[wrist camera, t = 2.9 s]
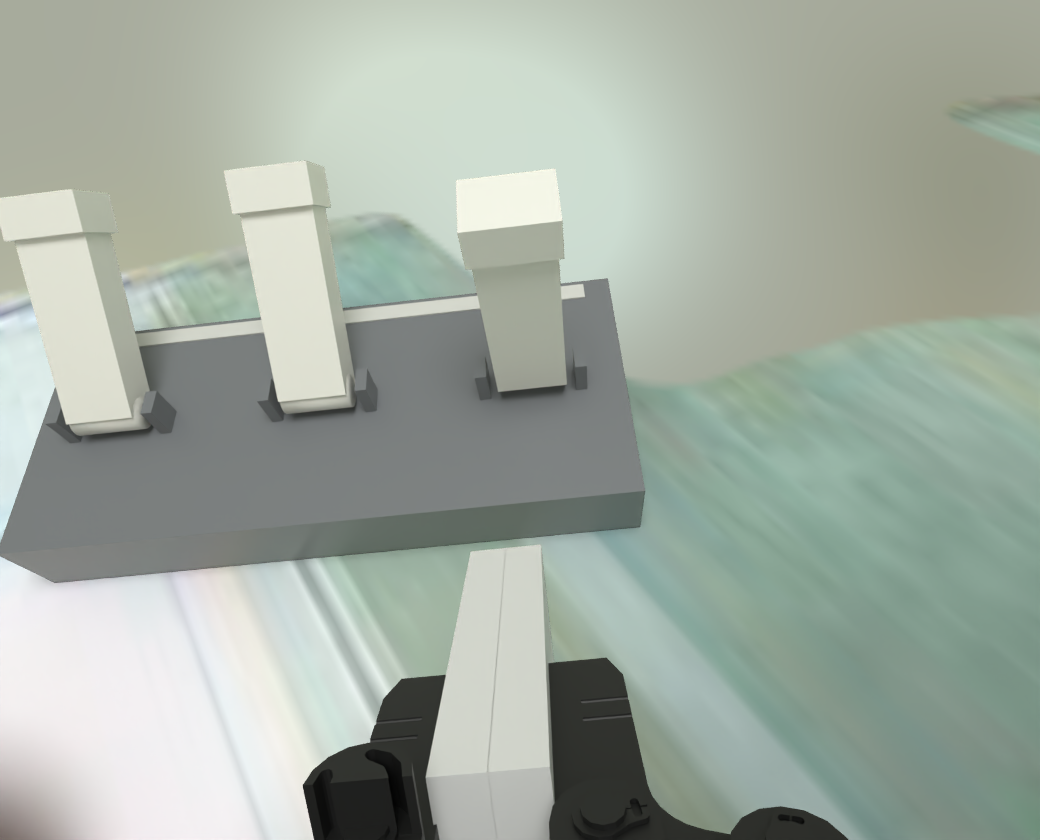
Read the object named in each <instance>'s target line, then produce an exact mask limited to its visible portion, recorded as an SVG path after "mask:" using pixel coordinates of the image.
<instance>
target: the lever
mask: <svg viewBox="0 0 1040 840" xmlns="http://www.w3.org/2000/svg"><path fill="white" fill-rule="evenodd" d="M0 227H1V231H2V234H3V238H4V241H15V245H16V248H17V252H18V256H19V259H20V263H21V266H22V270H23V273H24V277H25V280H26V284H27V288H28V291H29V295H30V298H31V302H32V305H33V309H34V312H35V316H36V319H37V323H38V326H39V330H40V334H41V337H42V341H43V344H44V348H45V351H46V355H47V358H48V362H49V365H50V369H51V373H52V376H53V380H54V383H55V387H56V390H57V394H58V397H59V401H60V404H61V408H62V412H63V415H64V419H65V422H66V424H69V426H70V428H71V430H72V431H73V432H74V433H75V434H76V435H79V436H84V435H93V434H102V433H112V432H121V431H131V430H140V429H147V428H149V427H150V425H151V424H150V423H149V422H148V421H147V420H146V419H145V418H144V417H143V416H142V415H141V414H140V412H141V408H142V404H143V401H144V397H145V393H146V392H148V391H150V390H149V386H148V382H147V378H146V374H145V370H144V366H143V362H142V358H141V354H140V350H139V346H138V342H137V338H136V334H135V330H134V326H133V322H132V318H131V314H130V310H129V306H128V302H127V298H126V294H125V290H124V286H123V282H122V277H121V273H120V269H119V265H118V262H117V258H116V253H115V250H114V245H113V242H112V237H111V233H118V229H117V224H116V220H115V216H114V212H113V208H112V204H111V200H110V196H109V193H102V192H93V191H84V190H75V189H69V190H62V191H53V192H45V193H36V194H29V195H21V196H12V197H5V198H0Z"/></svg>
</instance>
